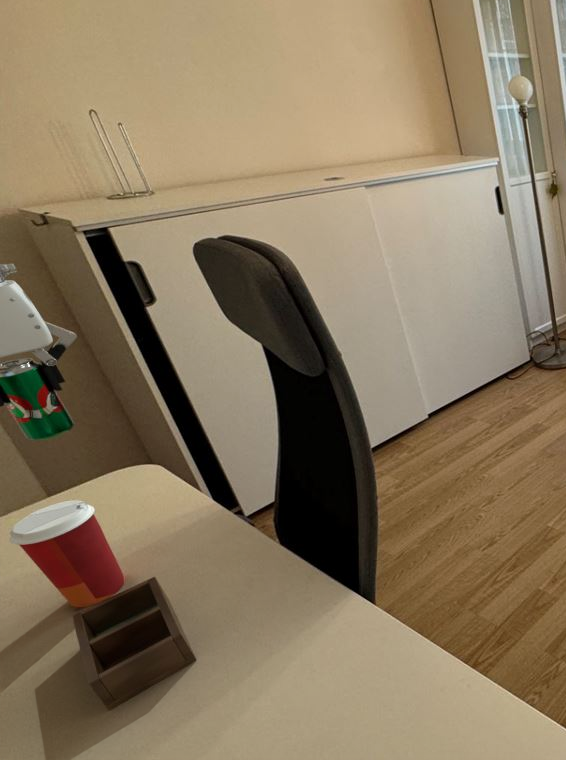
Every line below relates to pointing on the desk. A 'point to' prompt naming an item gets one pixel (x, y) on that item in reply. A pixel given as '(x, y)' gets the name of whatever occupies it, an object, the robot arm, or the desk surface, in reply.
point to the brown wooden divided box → (131, 642)
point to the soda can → (33, 400)
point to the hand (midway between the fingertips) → (29, 394)
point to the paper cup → (71, 551)
